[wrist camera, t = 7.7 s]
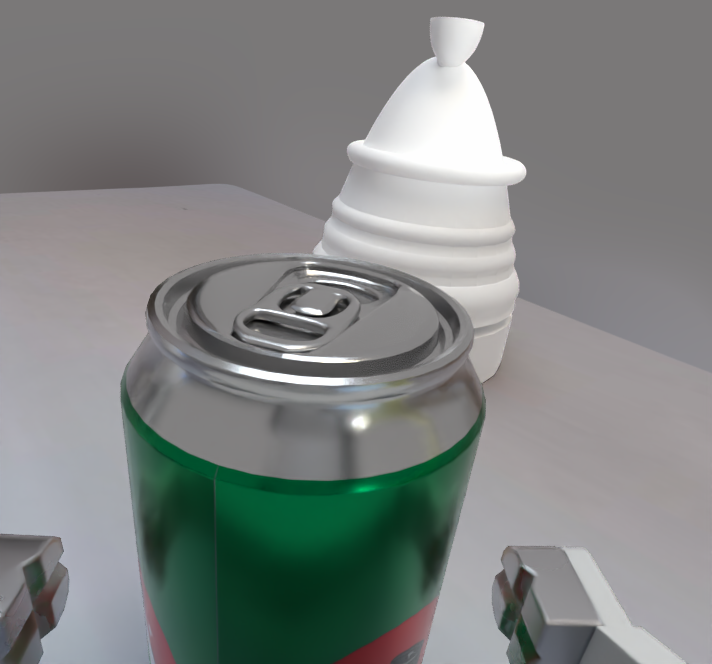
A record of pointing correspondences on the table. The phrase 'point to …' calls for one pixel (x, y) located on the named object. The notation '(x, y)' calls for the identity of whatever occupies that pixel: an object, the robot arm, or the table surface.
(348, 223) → the honey pot
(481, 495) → the table surface
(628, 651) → the robot arm
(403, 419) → the soda can
